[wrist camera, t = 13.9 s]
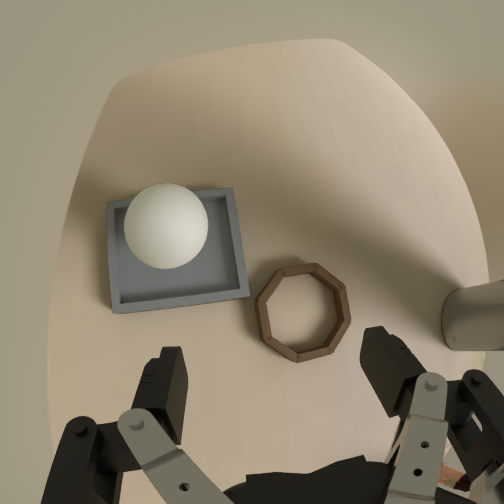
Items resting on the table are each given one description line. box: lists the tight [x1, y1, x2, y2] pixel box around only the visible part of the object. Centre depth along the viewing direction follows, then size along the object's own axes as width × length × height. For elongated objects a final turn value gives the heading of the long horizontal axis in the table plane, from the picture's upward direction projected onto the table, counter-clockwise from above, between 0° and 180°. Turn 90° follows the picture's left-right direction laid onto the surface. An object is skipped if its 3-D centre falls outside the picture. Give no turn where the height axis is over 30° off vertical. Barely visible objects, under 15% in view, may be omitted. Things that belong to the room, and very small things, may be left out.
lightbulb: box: [124, 183, 208, 269], centre depth 23 cm, size 6×6×11 cm
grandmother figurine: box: [438, 462, 472, 492], centre depth 22 cm, size 8×4×13 cm, turn 85°
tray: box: [107, 188, 250, 314], centre depth 28 cm, size 13×11×2 cm
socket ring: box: [255, 263, 351, 363], centre depth 29 cm, size 10×10×2 cm
